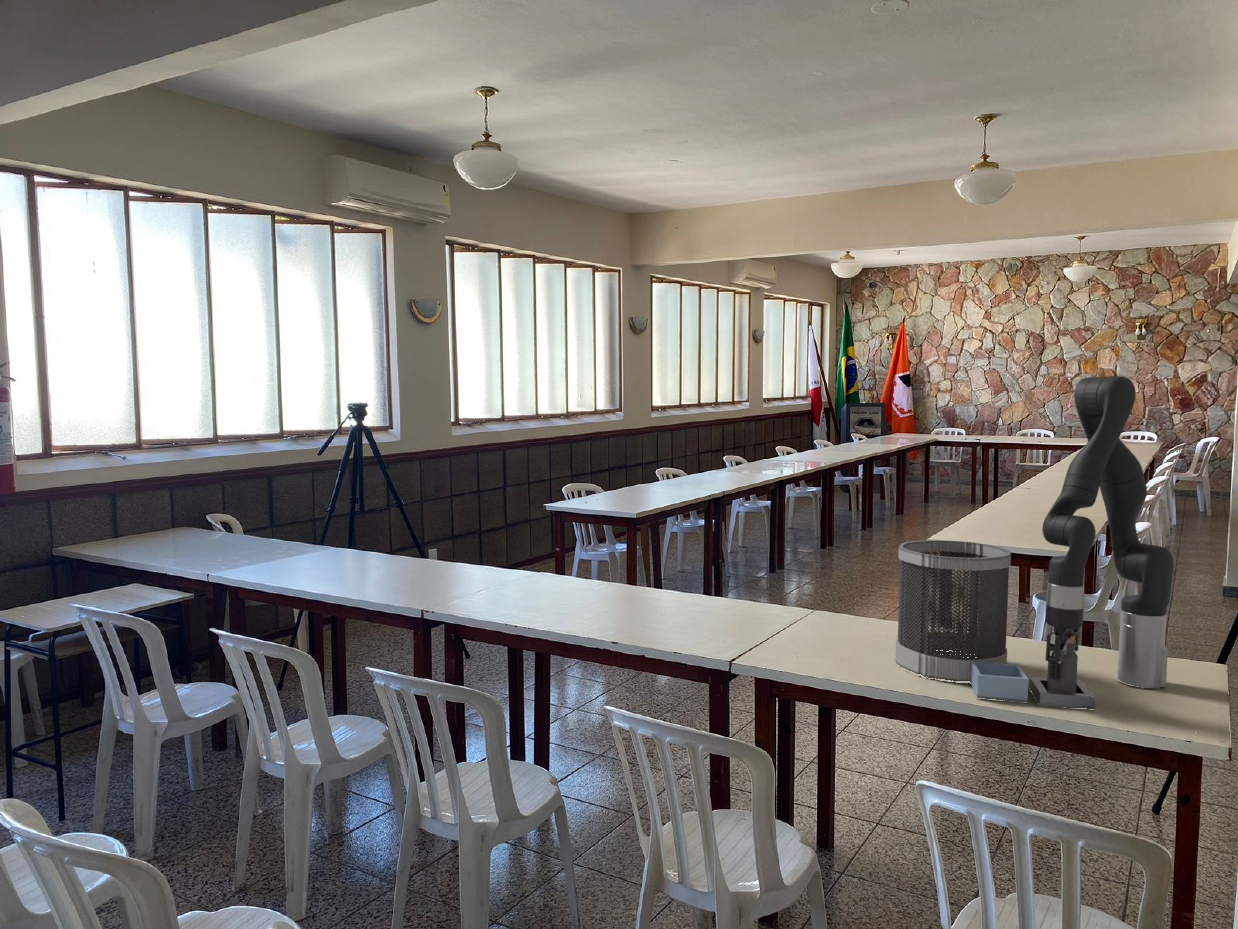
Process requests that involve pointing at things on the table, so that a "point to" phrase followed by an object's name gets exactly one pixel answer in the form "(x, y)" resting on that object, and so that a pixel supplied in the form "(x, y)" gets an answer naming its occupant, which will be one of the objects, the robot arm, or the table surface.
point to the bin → (999, 681)
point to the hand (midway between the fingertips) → (1061, 675)
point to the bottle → (1066, 672)
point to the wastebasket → (987, 602)
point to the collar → (1062, 695)
